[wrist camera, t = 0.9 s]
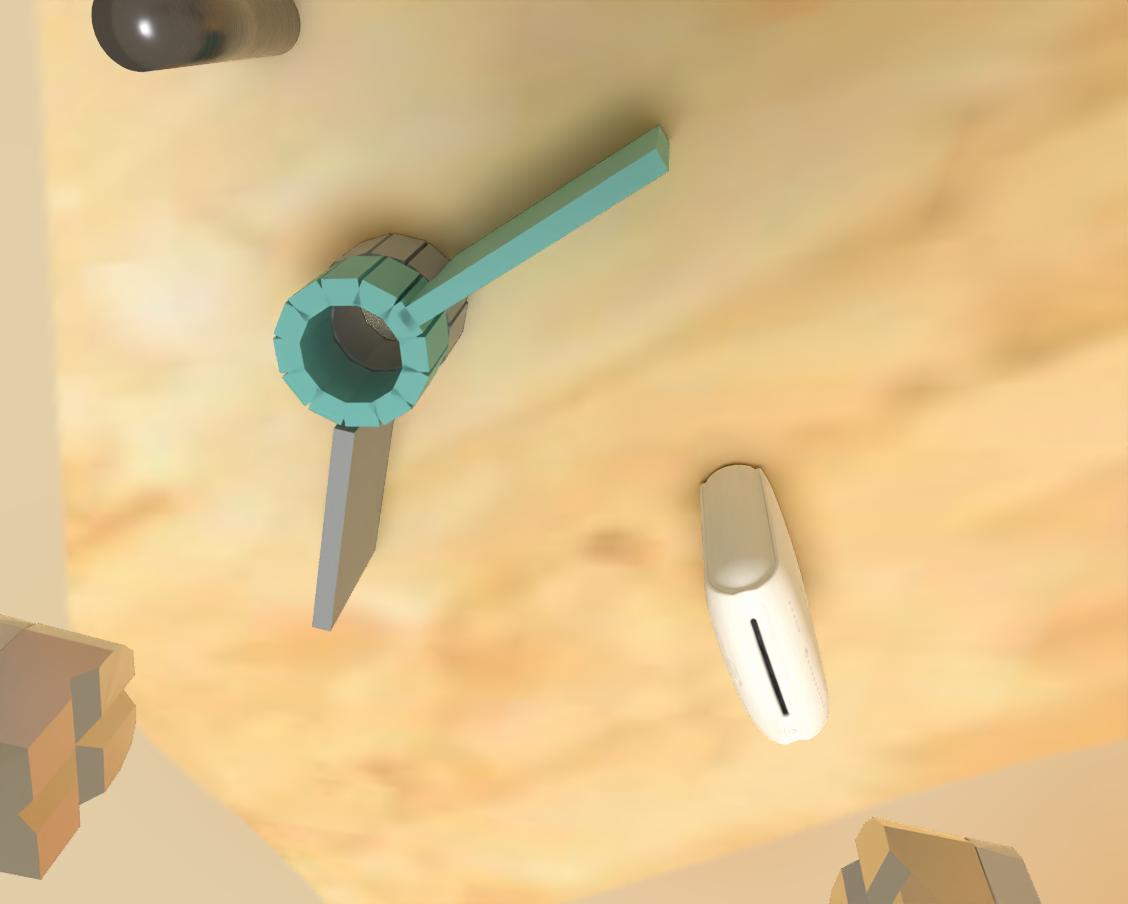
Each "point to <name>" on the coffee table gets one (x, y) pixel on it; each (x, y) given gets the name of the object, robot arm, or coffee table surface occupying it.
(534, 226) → the teal hinge knuckle plate
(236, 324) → the coffee table surface
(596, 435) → the coffee table surface
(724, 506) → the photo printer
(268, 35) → the hinge pin
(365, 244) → the frame leaf
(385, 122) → the coffee table surface
